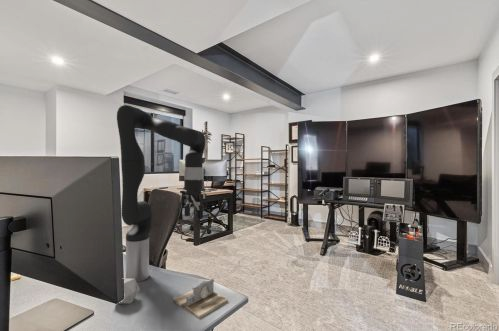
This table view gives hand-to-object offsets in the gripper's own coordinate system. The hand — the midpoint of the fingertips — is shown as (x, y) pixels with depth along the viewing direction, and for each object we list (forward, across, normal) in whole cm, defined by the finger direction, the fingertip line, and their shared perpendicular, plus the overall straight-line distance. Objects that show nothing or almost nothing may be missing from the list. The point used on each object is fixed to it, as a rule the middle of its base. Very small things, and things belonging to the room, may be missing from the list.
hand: (193, 217), depth 99 cm
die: (+28, -9, -23) cm, 38 cm away
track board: (+28, +12, -5) cm, 31 cm away
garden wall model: (+28, +11, -5) cm, 30 cm away
